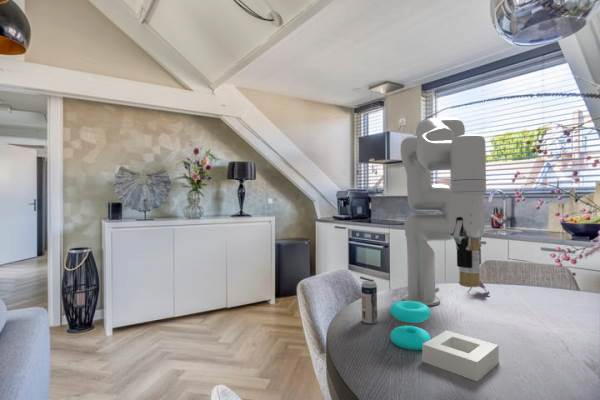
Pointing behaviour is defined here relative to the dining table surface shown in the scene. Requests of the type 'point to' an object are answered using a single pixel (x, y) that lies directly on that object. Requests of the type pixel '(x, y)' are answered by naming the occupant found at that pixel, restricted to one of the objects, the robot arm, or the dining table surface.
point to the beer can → (369, 302)
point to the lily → (481, 286)
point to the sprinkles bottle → (471, 275)
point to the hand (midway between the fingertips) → (469, 264)
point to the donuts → (410, 334)
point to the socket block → (461, 354)
